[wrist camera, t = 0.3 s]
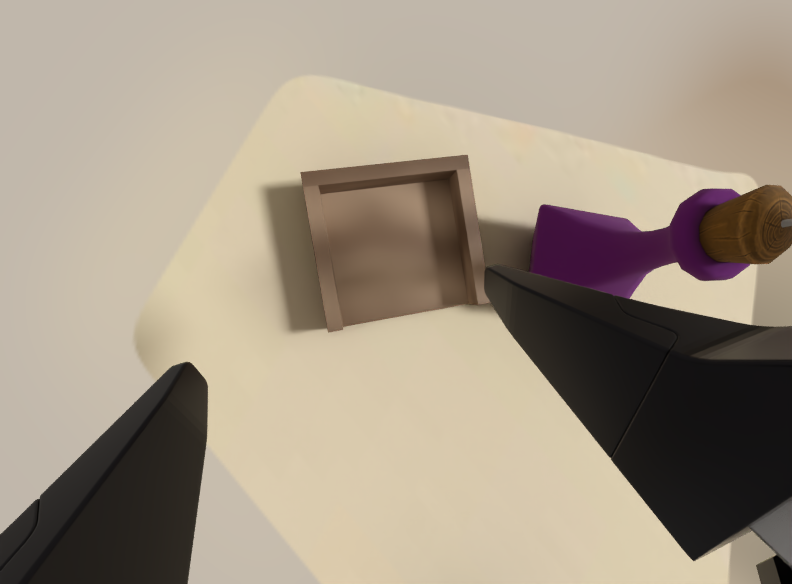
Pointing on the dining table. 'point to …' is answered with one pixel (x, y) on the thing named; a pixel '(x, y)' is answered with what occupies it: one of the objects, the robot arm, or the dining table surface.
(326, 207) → the wooden tray
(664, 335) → the robot arm
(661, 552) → the dining table surface
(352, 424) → the dining table surface
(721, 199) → the perfume bottle
